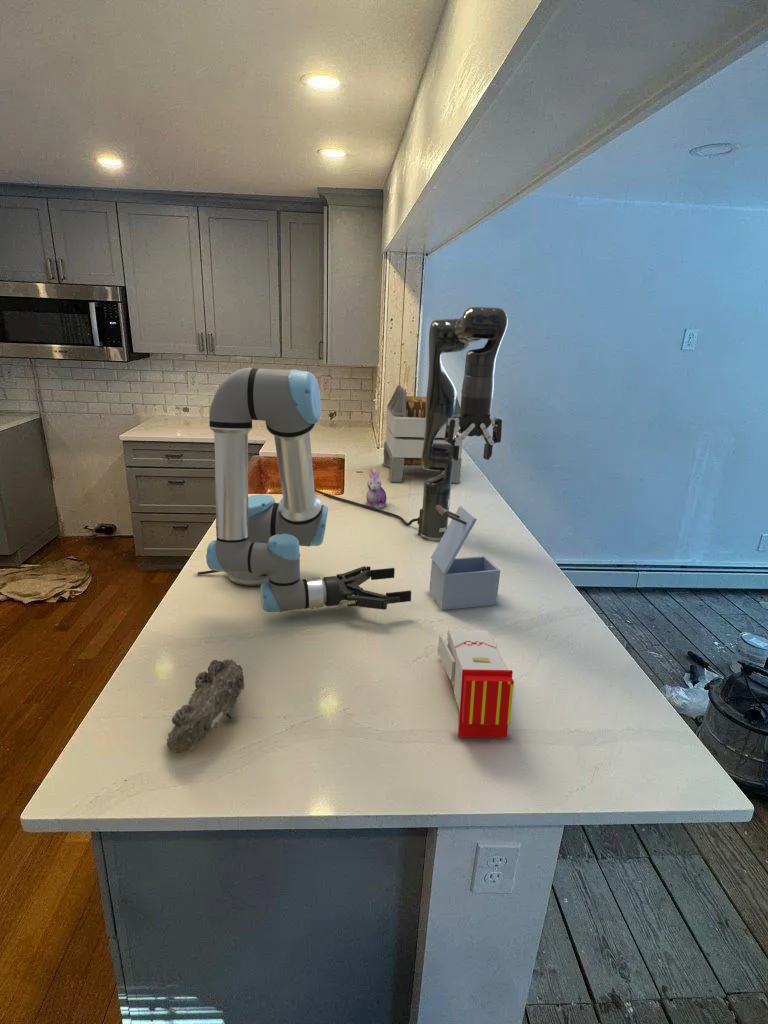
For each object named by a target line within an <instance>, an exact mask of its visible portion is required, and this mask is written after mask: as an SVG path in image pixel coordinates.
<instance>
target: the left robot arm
mask: <svg viewBox="0 0 768 1024" xmlns="http://www.w3.org/2000/svg"><path fill="white" fill-rule="evenodd" d="M319 385H320V384H319V383H318V379H317V378H316V376H315V375H314V374H313V373H312V372H310V371H307V370H299V369H277V368H275V369H274V368H271V369H270V368H255V367H244V368H239V369H237V370H235V371H234V372H232V373H230V374H229V375H228V376H227V377H225V378H224V380H223V381H222V382H221V383H220V385H219V386H218V387H217V389H216V391H215V393H214V395H213V398H212V402H211V404H210V408H209V416H208V421H209V422H208V423H209V425H208V426H209V429H210V430H211V431H212V432H213V433H214V434H213V437H214V482H215V483H214V485H215V488H214V491H215V536H216V539H215V540H214V539H213V540H211V541H209V542H208V545H207V549H206V555H205V559H206V565H207V567H208V568H209V570H205V571H204V570H203V571H198V572H197V575H201V576H202V575H207V574H214V573H221V572H223V573H228V574H227V575H228V578H229V581H230V582H232V583H234V584H236V585H239V586H244V587H259V586H260V599H261V608H262V610H263V611H264V612H265V613H283V612H290V611H296V610H306V609H312V610H313V609H314V608H315V609H317V608H323V607H324V606H325V607H335V606H339V605H340V604H341V602H342V601H347V602H346V605H347V607H348V608H351V607H352V608H354V607H355V608H356V607H357V608H358V607H359V608H366V609H376V610H383V611H385V610H387V608H388V605H389V604H398V603H408V602H411V601H412V591H411V590H403V591H393V592H386V593H385V594H382V593H378V592H374V591H370V590H365V589H364V588H363V587H361V586H360V585H362V584H364V583H365V582H366V581H368V580H369V579H370V580H371V581H377V580H387V579H394V578H395V573H396V572H395V567H388V568H377V569H371V568H372V567H371V566H365V565H364V566H360V567H358V568H355V569H352V570H350V571H346V572H344V573H338V574H336V575H333V576H331V575H330V576H324V577H322V578H321V577H318V576H317V577H310V578H301V577H300V576H301V553H300V547H318V546H321V545H322V544H323V542H324V538H325V534H326V527H327V519H328V513H329V507H328V506H327V505H325V504H322V501H321V499H320V497H319V496H318V495H316V492H315V489H316V488H315V480H314V478H315V477H314V468H313V457H312V456H313V455H312V443H311V432H312V430H313V429H314V428H315V426H316V423H318V422H319V421H320V419H321V416H322V401H321V400H322V398H321V390H320V386H319ZM253 421H263V422H265V427H266V429H267V431H268V432H269V434H271V435H273V438H274V445H275V452H276V459H277V466H278V473H279V479H280V488H281V495H282V498H281V499H280V501H279V502H276V501H275V499H274V497H273V496H271V495H269V494H256V495H250V496H249V433H250V432H251V430H253Z"/></svg>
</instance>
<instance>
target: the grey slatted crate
mask: <svg viewBox="0 0 768 1024" xmlns="http://www.w3.org/2000/svg"><path fill="white" fill-rule="evenodd" d="M407 394H408V393H407V390H406V389H404V388H403V387H402V385H399V384H398V385H397V386H396V388H395V390H394V392H393V394H392V395H391V398H390V400H389V402H388V404H387V405H386V413H385V414H386V415H385V423H386V428H385V438H384V442H383V466H384V467H388V468H389V475H388V476H389V477H388V478H389V480H390V482H391V483H402V482H403V475H404V469H405V466H406V467H407V466H411V467H412V466H413V467H415V466H416V467H417V466H418V467H422V462H421V457H422V448H423V440H424V432H425V417H426V396H415V395H414V396H413V395H412V396H411V395H407ZM460 407H461V404H460V402H459V398H458V395H456V405H455V412H454V414H453V416H452V417H451V418H452V419H459V417H460ZM446 424H447V423H446ZM446 424H445V426H444V427H443V428H442V429H441V430H440V431H439V432H438V434H437V435H436V437H435V439H434V442H433V443H446V444H449V443H448V442H446V441H445V440H444V438H445V431H446ZM459 429H460V426H459V424H457V426H456V427H455V428H454V434H453V438H454V436H455V435H456V432H457V431H458V430H459ZM463 442H464V440H462V441H461V443H460V444H459V445H458V446H459V456H458V460H454V464H453V470H452V479H451V484H455V483H456V484H459V483H461V472H462V461H463V460H462V453H463ZM442 472H443V471H439V473H440V474H441V473H442Z"/></svg>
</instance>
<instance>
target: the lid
mask: <svg viewBox="0 0 768 1024" xmlns="http://www.w3.org/2000/svg"><path fill="white" fill-rule="evenodd" d="M435 509H436V510H437V511H438V512H439V513H440V514H441V515H442V516H443V517H448V519H451V520H450V522H449V523H448V527H447V529H446V531H445V533H444V535H443V537H442V538H441V540H440V541H438V544H437V546H436V548H435V549H434V551H433V552H432V555H431V556H430V559H431V561H432V560H433V561H434V562H435V563H436V565H437V566H438V567H439V568H440V570H441V571H442V572H443V573H445V574H446V573H447V572H448V570H449V568H450V566H451V565H452V563H453V561H454V559H455V558H457V556H458V554H459V552H460V551H461V549H462V547H463V545H464V543H465V542H466V540H467V539H468V537H469V534H470V532H471V531H472V529H473V527H474V526H475V524H476V522H477V520H478V518H476V517H475V516H474V515H473V514H472V513H470V511H468V510H467V509H466V508H464V507H463V506H462V505H459V506H458V508H457V510H456V511H455V513H454V512H452V511H450V510H449V511H448V510H445V509H443V508H442V507H441V506H440V505H436V507H435Z"/></svg>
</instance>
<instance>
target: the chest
mask: <svg viewBox="0 0 768 1024" xmlns="http://www.w3.org/2000/svg"><path fill="white" fill-rule="evenodd" d="M430 564H431V565H430V566H431V567H430V579H429V589H428V590H429V591H428V592H429V593H428V594H429V596H430V597H431V598H432V599H433V600H434V602H435V603H436V605H437V606H438V608H439V610H441V611H446V610H457V609H467V608H475V607H484V606H486V607H487V606H493V605H497V601H498V592H499V585H500V577H501V570H500V568H498V567H497V566H496V565H495V564H494V563H493V562H492V561H491V560H490V559H489V558H488V557H487V556H486V555H480V556H479V555H478V556H477V555H476V556H466V557H455V559H454V561H453V563H452V565H451V566H450V568H449V570H448V572H447V573H446V574H445V573H443V572H442V571H441V570H440V568H439V567H438V566H437V565H436V563H435V562H434V561H433V560H432V559H431V563H430Z"/></svg>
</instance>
